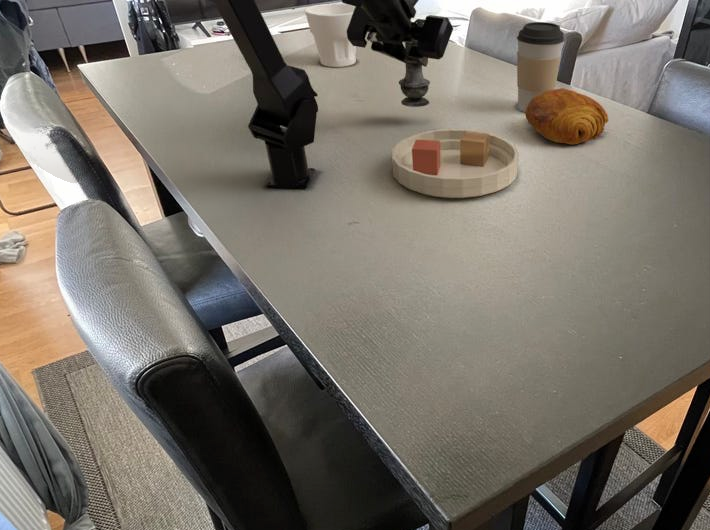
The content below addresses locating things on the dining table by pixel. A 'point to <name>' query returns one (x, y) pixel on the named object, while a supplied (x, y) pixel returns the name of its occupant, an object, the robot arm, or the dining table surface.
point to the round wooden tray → (456, 166)
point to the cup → (332, 33)
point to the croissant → (566, 116)
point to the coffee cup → (537, 60)
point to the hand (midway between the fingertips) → (417, 62)
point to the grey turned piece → (413, 82)
